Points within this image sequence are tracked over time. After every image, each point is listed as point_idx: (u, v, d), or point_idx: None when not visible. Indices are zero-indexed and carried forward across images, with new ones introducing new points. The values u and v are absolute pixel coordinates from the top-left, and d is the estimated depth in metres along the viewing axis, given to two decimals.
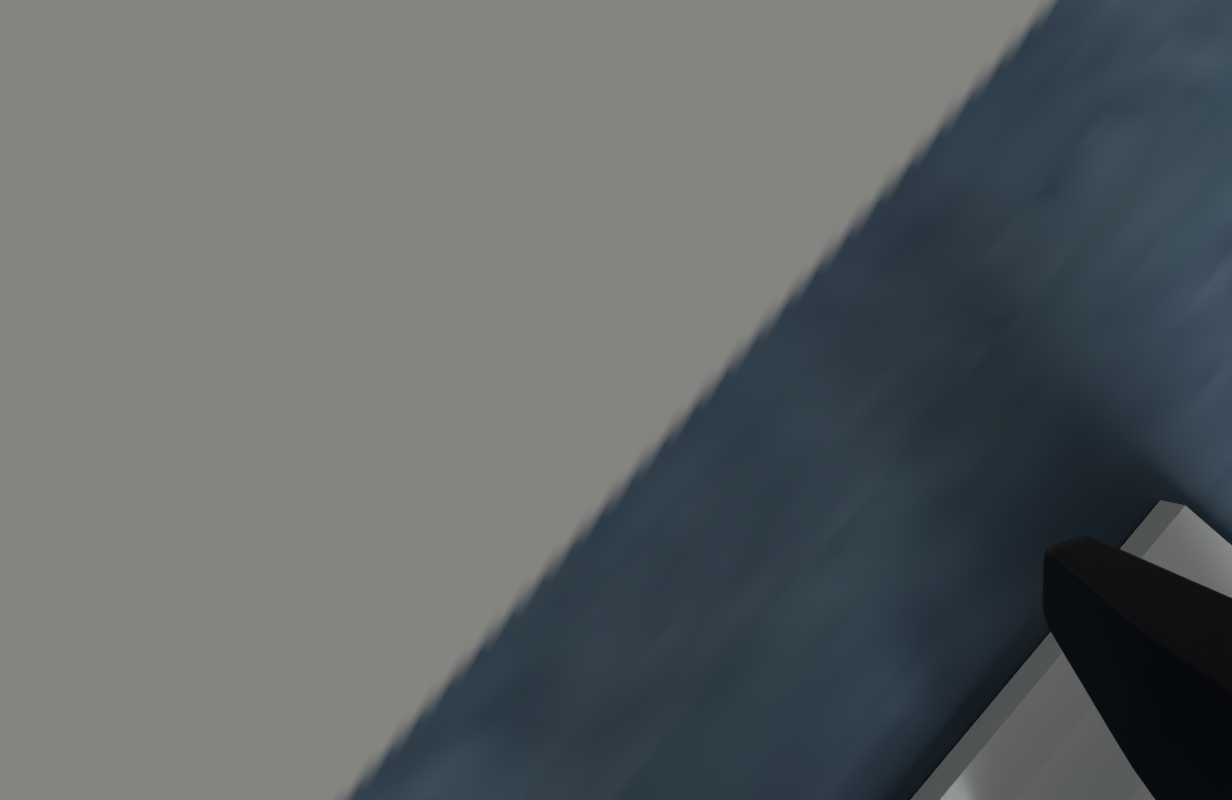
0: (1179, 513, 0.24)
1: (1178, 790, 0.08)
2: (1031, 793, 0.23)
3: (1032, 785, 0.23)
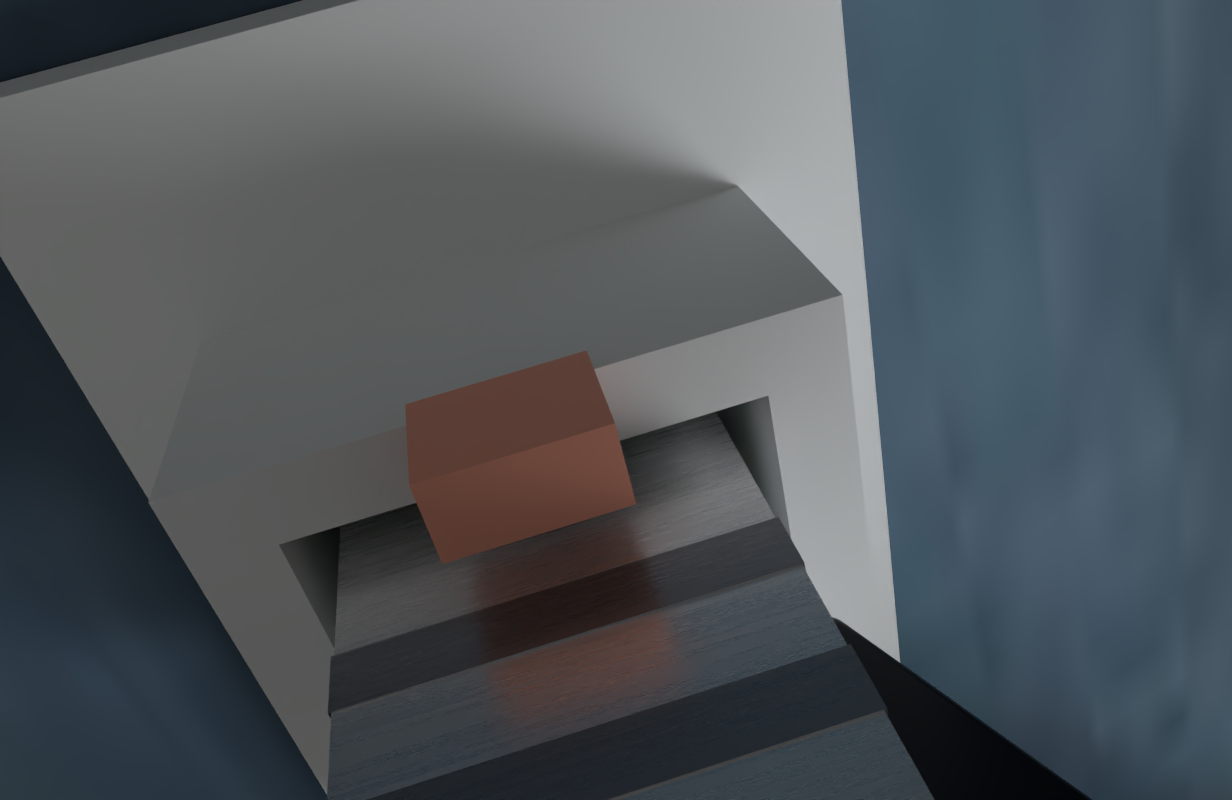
0: None
1: None
2: None
3: None
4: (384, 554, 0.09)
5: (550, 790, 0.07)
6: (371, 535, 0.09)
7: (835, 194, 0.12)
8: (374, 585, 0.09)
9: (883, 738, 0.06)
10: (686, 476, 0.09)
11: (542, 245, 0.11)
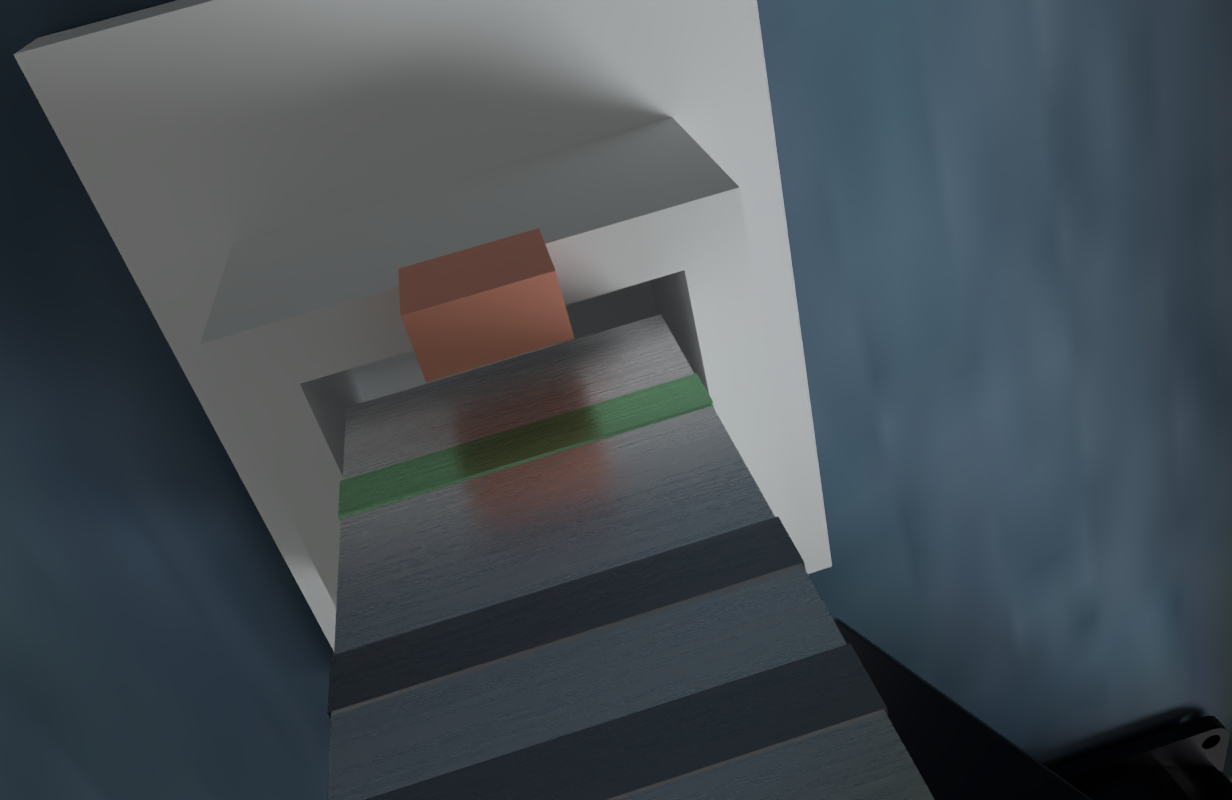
0: (24, 74, 0.12)
1: None
2: None
3: None
4: (384, 554, 0.09)
5: (550, 789, 0.07)
6: (371, 535, 0.09)
7: (754, 126, 0.14)
8: (374, 585, 0.09)
9: (882, 737, 0.06)
10: (685, 475, 0.09)
11: (511, 165, 0.14)
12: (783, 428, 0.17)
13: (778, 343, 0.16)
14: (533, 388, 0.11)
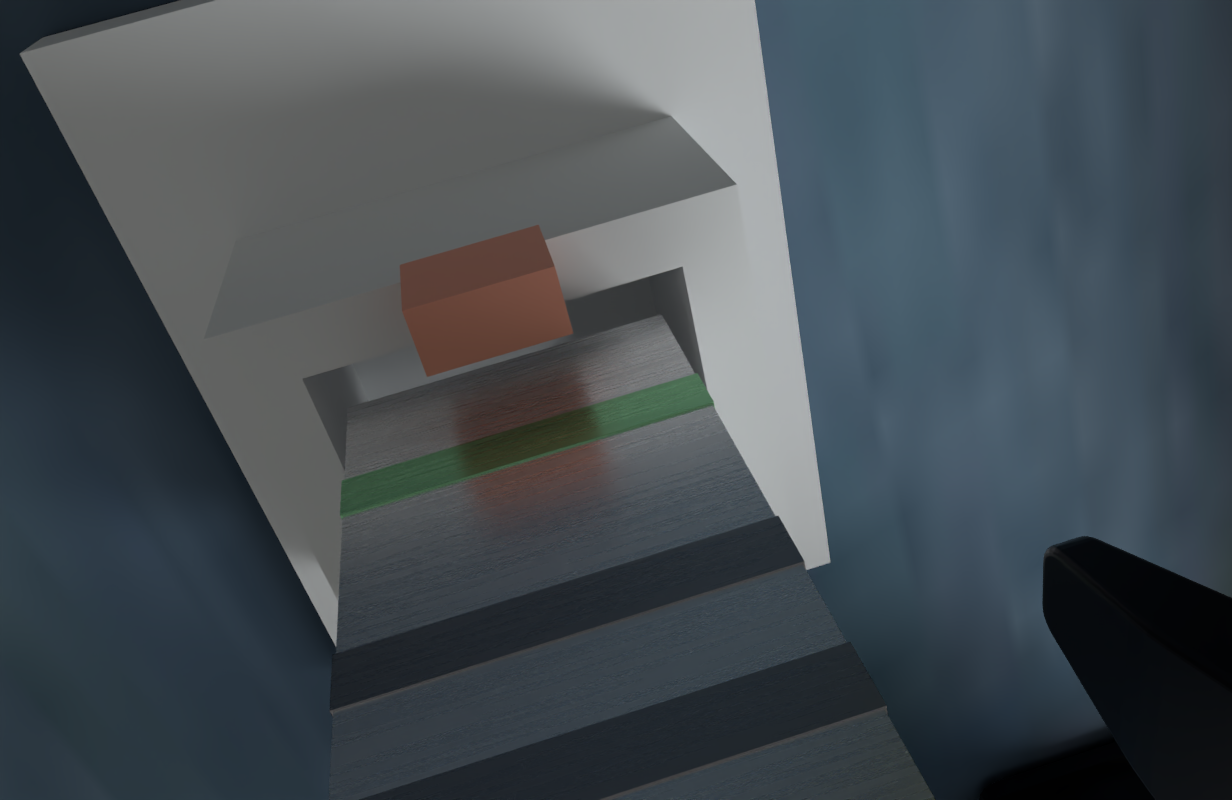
0: (30, 73, 0.12)
1: (1178, 790, 0.08)
2: None
3: None
4: (385, 553, 0.09)
5: (551, 787, 0.07)
6: (372, 534, 0.09)
7: (752, 124, 0.14)
8: (375, 583, 0.09)
9: (882, 735, 0.06)
10: (686, 475, 0.09)
11: (512, 163, 0.14)
12: (781, 424, 0.17)
13: (776, 340, 0.16)
14: (534, 388, 0.11)
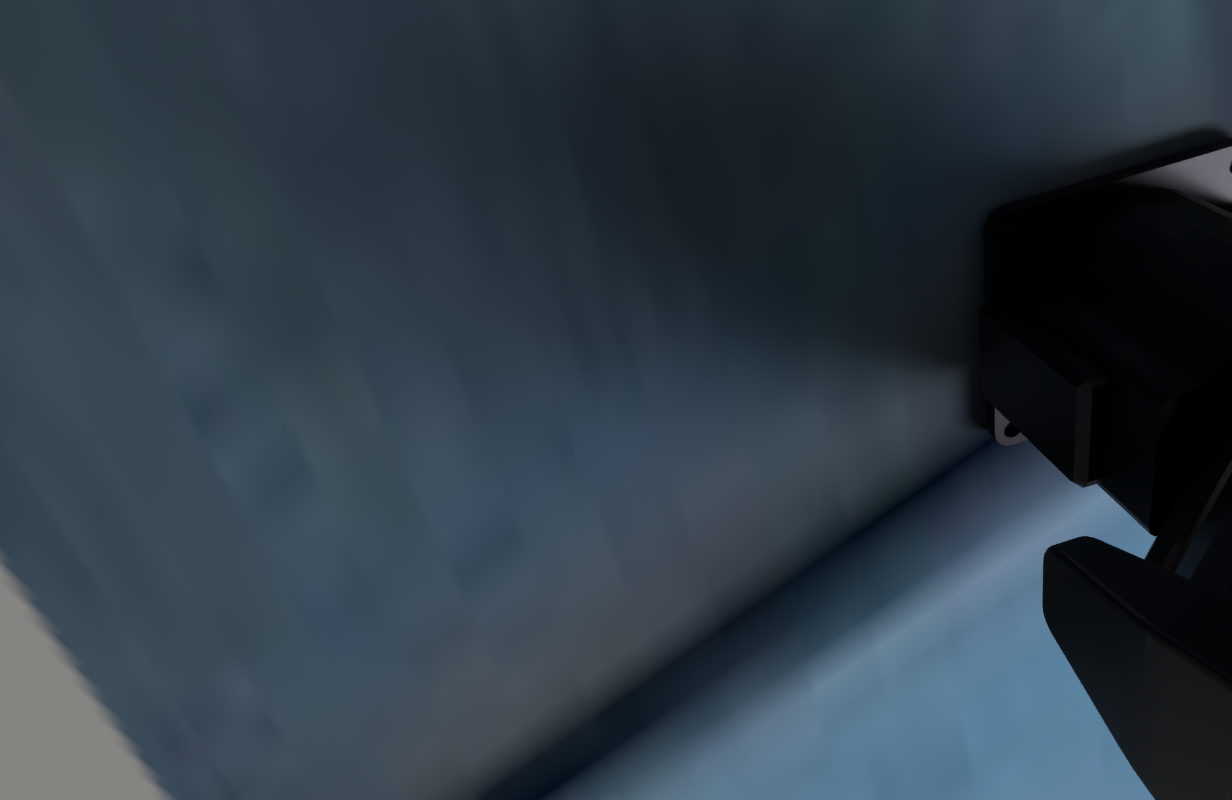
0: None
1: (1178, 790, 0.08)
2: None
3: None
4: None
5: None
6: None
7: None
8: None
9: None
10: None
11: None
12: None
13: None
14: None
